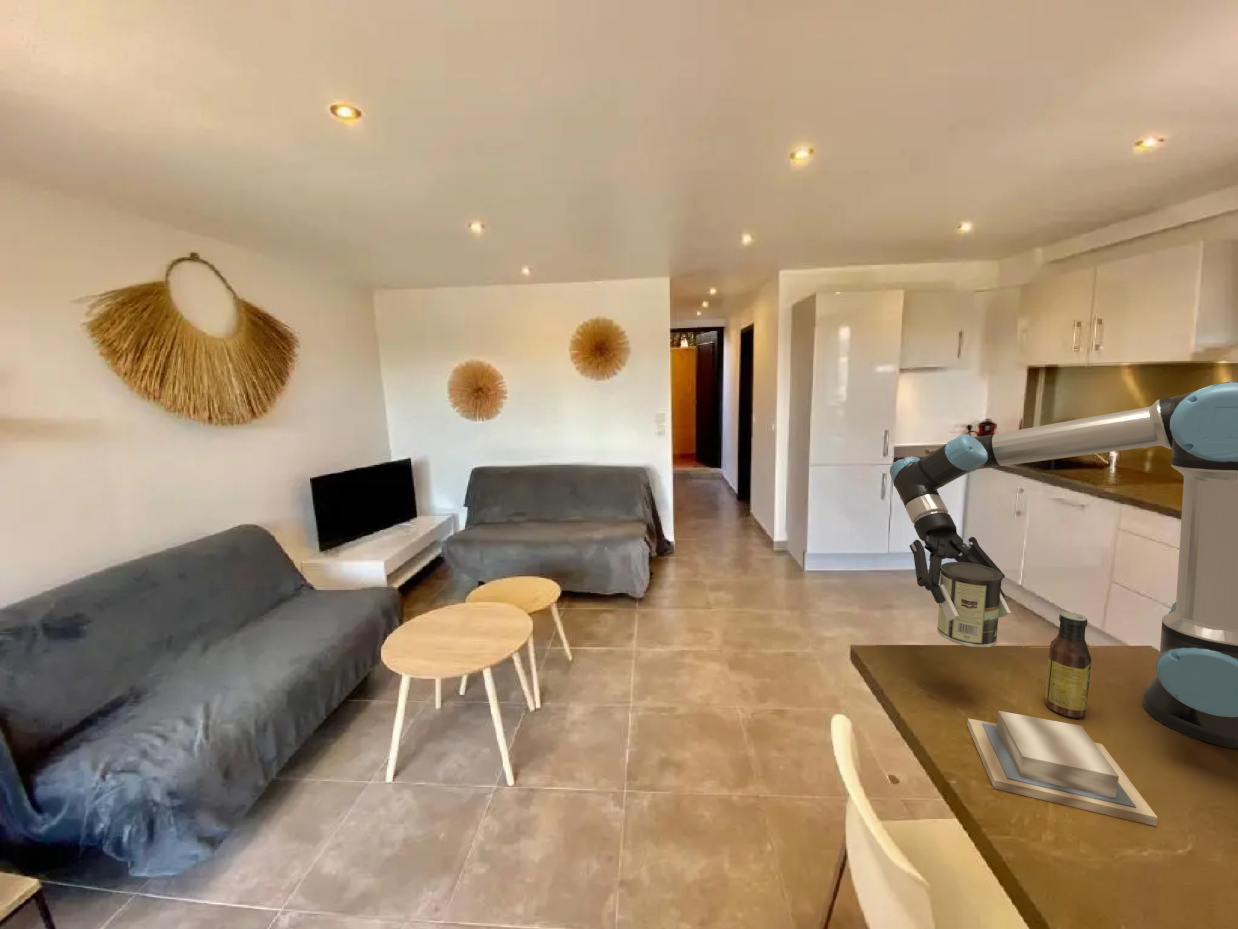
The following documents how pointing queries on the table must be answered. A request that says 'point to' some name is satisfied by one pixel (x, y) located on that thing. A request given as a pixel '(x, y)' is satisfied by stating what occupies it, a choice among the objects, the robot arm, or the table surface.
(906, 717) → the table surface
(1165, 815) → the table surface
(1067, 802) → the plate
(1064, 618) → the sauce bottle
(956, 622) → the coffee can
